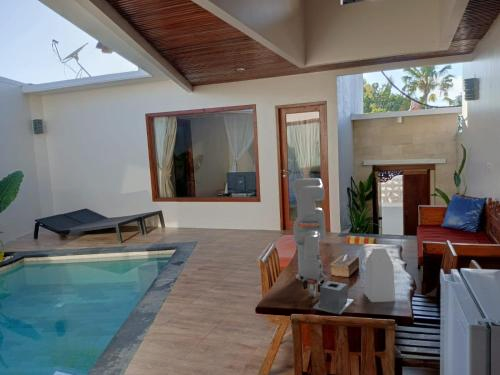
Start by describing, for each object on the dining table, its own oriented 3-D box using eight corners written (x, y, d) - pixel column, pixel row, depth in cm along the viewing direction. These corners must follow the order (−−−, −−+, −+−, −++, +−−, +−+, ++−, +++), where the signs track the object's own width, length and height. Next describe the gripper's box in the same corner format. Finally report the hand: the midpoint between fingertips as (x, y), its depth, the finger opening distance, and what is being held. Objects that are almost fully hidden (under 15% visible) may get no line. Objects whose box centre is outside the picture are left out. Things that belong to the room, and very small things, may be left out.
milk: (386, 292, 209) (386, 244, 206) (395, 301, 197) (395, 250, 194) (364, 293, 208) (363, 245, 206) (371, 302, 197) (371, 251, 194)
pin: (310, 293, 211) (310, 276, 210) (319, 295, 208) (319, 278, 207) (305, 297, 206) (305, 279, 205) (315, 299, 203) (314, 281, 202)
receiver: (328, 296, 206) (327, 277, 205) (353, 301, 198) (353, 282, 197) (312, 308, 192) (312, 288, 191) (340, 314, 184) (339, 294, 183)
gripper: (330, 258, 203) (330, 290, 205) (300, 253, 213) (301, 285, 215) (324, 261, 197) (324, 295, 199) (293, 257, 207) (294, 289, 209)
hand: (312, 289), depth 207 cm, fingers open, 7 cm apart
